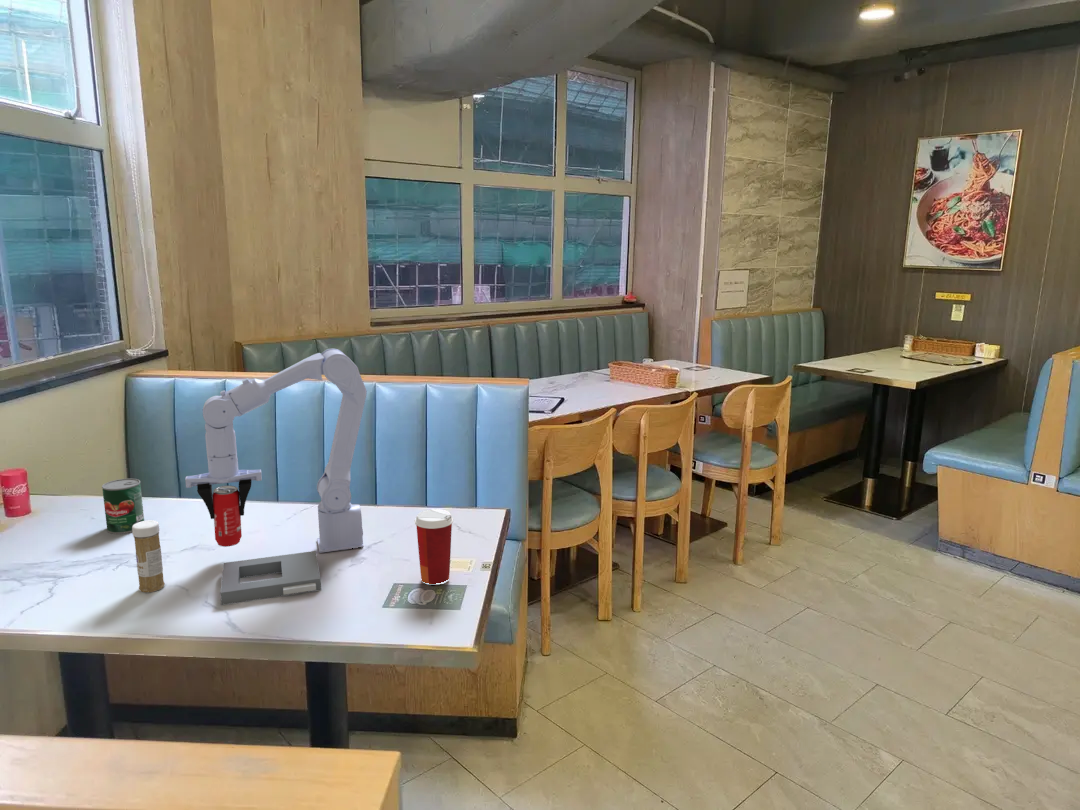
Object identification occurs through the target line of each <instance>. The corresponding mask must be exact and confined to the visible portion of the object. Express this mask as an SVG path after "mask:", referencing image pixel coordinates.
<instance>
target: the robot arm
mask: <svg viewBox="0 0 1080 810" xmlns="http://www.w3.org/2000/svg"><path fill="white" fill-rule="evenodd" d="M323 376H324V377H325V378H326V379H327V380H328V381H329V382H331V383H332V384H333V385H335V386H336V388H337V389H338V390H339V391H340V392H341V394H342V396H341V398H342V399H341V402H340V406H339V412H338V417H337V421H336V424H335V425H336V426H335V429H334V435H333V440H332V445H331V449H330V453H329V458H328V462H327V464H326V465H325V467H324V471H323V474H322V476H321V477H320V478H319V480H318V481H317V483H316V491H317V493H318V495H319V497H320V499H321V500H320V502H319V503H318V505H317V515H318V519H317V520H318V533H319V534H318V535H319V536H318V537H317V538H316V541H317V546H318V553H328V552H329V553H330V552H337V551H344V550H352V548H353V549H359V548H358V547H361V548H364V540H363V539H364V538H363V537H364V531H363V517H362V516H363V515H362V510H361V509H362V508H361V505H360V504H352V503H351V501H352V493H351V489H350V486H351V480H352V479H351V468H352V463H353V458H354V454H355V450H356V444H357V440H358V435H359V430H360V425H361V421H362V417H363V412H364V409H365V408H364V407H365V403H366V398H367V391H368V390H367V388H366V385H365V383H364V381H363V379H362V375H361V374H360V371H359V367H358V366H357V365H356V363H354V361H352V360H351V358H350V357H349V356H348V355H346V354H345V353H344V352H343V351H342V350H340V349H337V348H327V349H325V350H324V351H322V352H321V353H320V352H317V353H314V354H312V355H310V356H308V357H305V358H304V359H302V360H300V361H298V362H296V363H294V364H292V365H291V366H289V367H287V368H284V369H282V370H280V371H279V372H277V373H276V374H273V375H271V376H270V377H267V378H266V379H264V380H262V379H259V378H252V379H249V378H248V377H247V378H245V379H243V380H242V381H241V382H242V383H241V384H239V385H237V386H235V387H234V388H231V389H229V390H225V389H224V390H221V391H220V393H219V394H220V395H213V396H211V397H209V398H207V399H206V400H205V402H204V404H203V407H202V416H203V420H204V422H205V425H204V429H205V435H204V436H205V447H206V457H207V466H208V467H207V468H208V472H206V473H205V472H204V473H200V474H195V475H187V476H185V479H184V481H185V488H186V489H189V488H192V487H197V488H196V489H197V490H196V491H197V493H198V495H199V496H200V499H202V501H203V503H204V504H205V507H206V509H207V511H208V513H209V515H210V519H211V520H214V510H213V496H212V495H213V487H212V486H213V485H220V484H230V483H238V491H239V496H240V516H242V517H243V516H245V506H246V502H247V498H248V495H249V494H250V491H251V488H252V481H253V482H254V481H255V482H256V481H257V482H259V481H261V482H262V480H263V477H262V469H261V468H260V469H239V462H238V461H239V460H238V451H237V448H238V447H237V438H236V431H235V429H234V419H235V417H241V416H243V415H245V414H247V413H250V412H251V411H254V410H256V409H257V408H260V407H261V406H264V405H266V404H268V403H269V401H270V397H271V395H273V394H274V393H277V392H279V391H282V390H283V389H284V390H285V389H286V388H288V387H291V386H292V385H296V384H297V383H299V382H302V381H305V380H306V379H307V380H308V379H309V380H316V381H323Z"/></svg>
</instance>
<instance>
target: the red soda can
mask: <svg viewBox="0 0 1080 810" xmlns="http://www.w3.org/2000/svg"><path fill="white" fill-rule="evenodd" d="M212 497H213V510H214V519H213V523H214V524H213V527H214V539H215V541H216V543H217V545H218V546H220V547H224V548H225V547H226V548H227V547H232V546H235V545H238V544H240V542H241V538H242V517H241V516H240V495H239V487H237V486H236V485H235V486H234V485H222V486H218V487H217V486H216V488H214V489H213V491H212Z"/></svg>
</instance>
